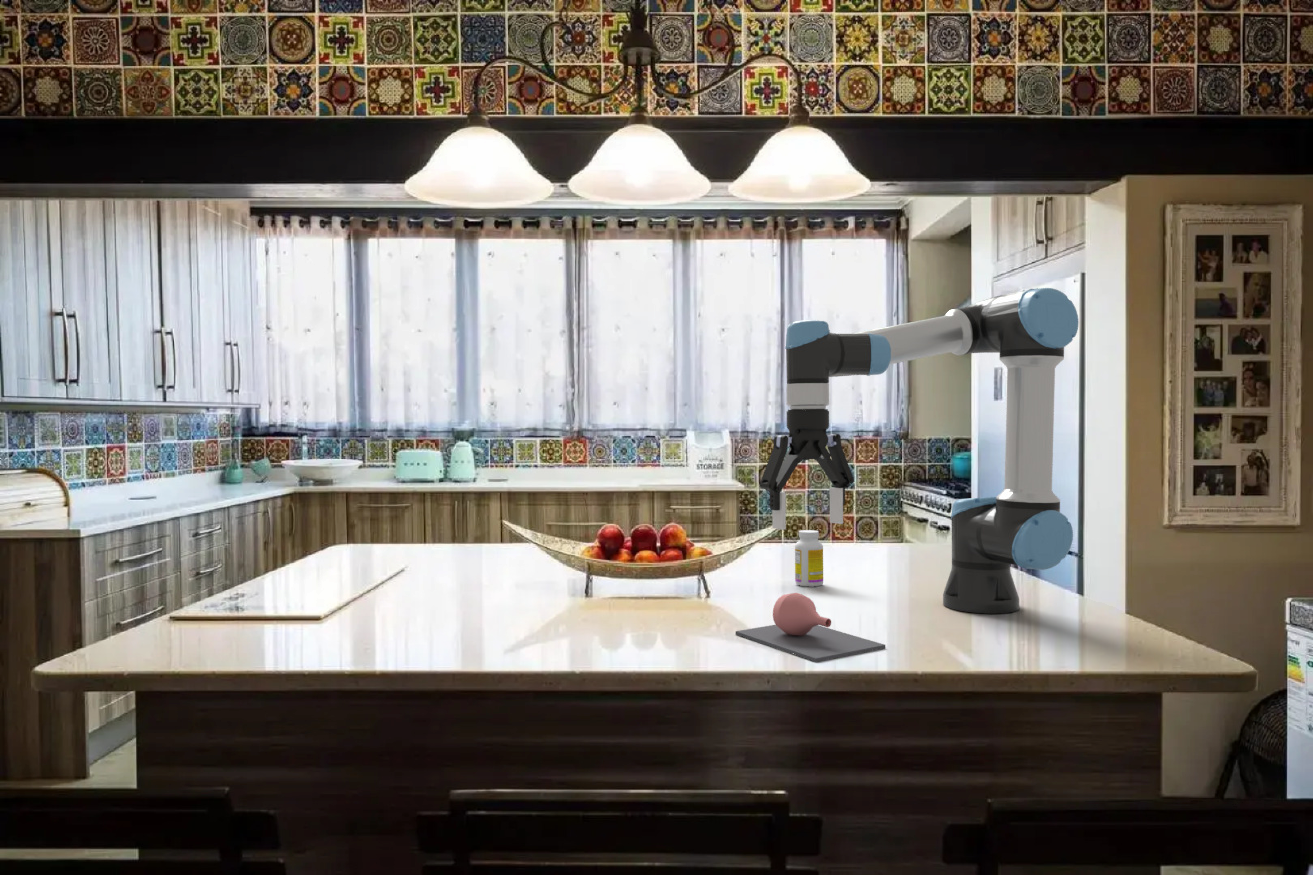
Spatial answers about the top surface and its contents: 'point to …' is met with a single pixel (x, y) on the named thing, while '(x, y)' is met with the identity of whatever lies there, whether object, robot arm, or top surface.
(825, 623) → the pink vase
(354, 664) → the top surface
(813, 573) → the supplement bottle
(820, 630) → the mat
